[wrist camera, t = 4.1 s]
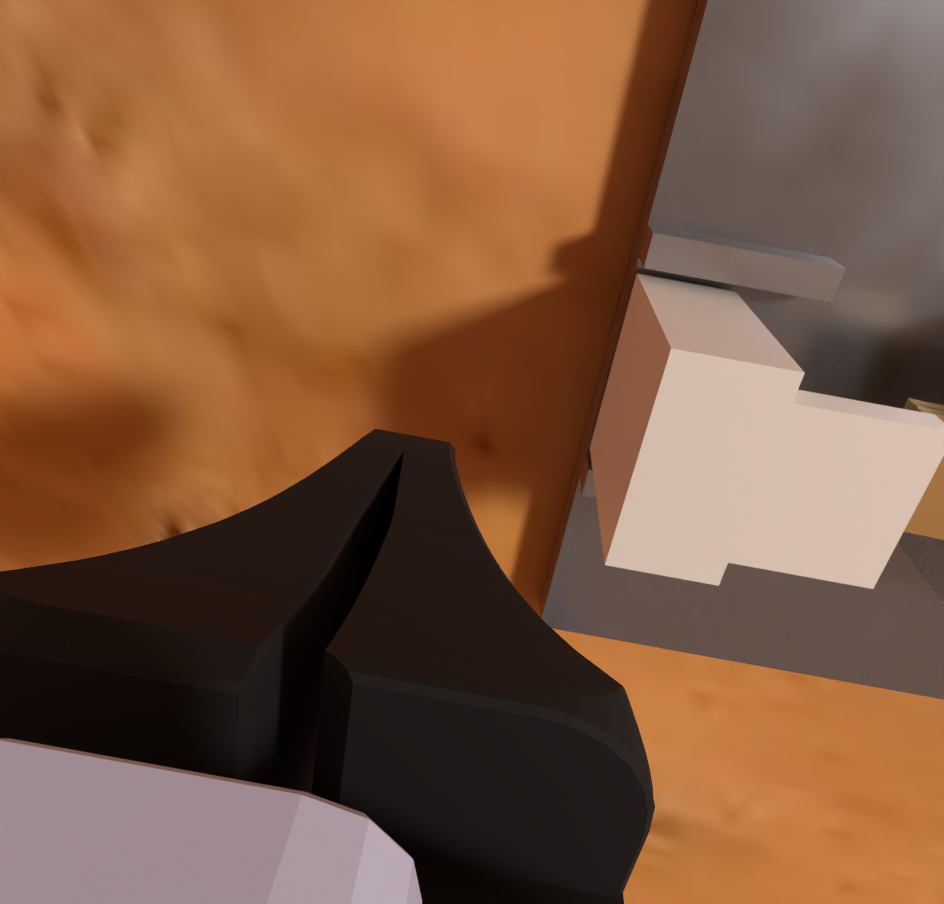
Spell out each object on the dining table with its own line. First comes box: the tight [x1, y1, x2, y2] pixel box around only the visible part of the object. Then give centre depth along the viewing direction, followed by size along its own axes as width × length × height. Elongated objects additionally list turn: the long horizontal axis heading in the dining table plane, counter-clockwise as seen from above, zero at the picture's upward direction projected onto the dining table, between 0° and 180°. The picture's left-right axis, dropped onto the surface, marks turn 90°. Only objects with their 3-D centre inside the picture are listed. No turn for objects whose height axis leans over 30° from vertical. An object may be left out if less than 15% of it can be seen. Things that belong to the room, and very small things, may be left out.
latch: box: [590, 273, 944, 589], centre depth 17 cm, size 5×5×5 cm
